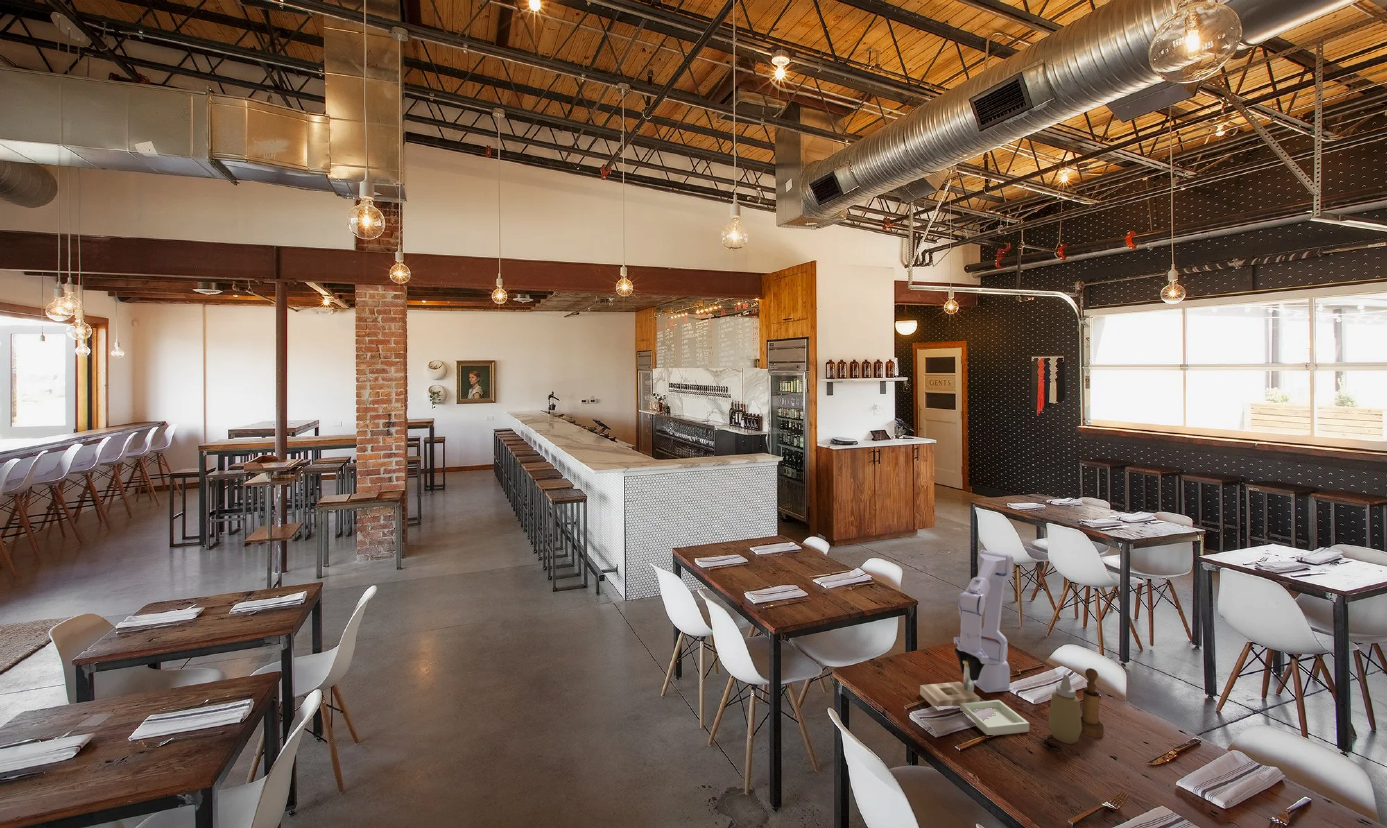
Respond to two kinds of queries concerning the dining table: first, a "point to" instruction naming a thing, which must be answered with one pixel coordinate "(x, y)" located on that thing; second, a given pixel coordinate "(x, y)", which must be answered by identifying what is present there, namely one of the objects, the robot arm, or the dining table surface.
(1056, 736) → the squeeze bottle
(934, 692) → the hitch block
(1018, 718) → the tray
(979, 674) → the robot arm
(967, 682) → the pin
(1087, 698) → the wooden pepper mill
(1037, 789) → the dining table surface
